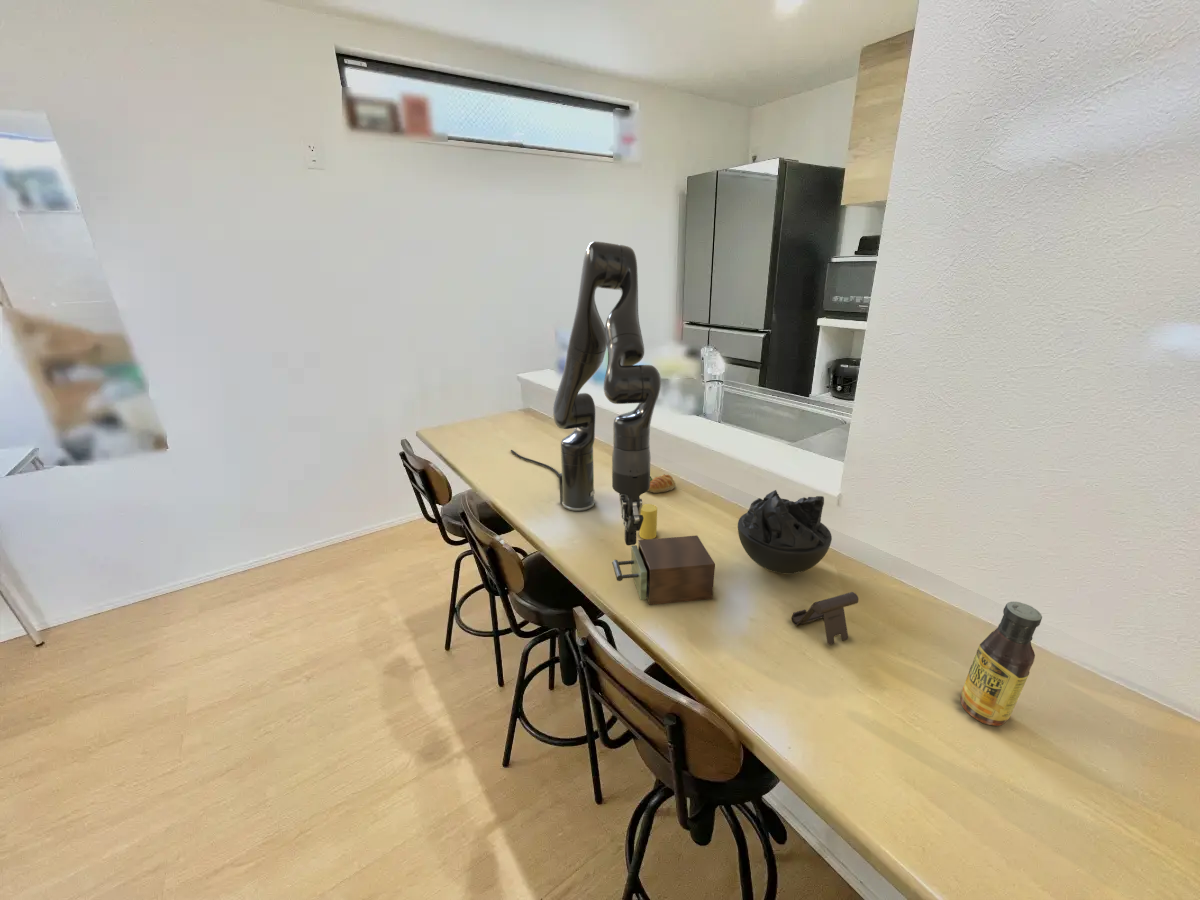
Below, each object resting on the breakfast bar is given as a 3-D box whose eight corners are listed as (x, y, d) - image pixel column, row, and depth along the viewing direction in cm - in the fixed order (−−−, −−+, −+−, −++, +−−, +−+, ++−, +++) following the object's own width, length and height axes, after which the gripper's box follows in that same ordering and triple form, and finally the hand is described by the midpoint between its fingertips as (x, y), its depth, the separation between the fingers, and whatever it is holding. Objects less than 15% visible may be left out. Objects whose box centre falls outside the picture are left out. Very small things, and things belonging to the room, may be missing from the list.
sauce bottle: (949, 696, 80) (981, 594, 73) (985, 693, 80) (1020, 592, 73) (981, 732, 73) (1020, 624, 67) (1020, 729, 74) (1063, 621, 67)
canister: (636, 536, 128) (636, 508, 125) (645, 529, 131) (645, 502, 129) (650, 541, 126) (651, 513, 123) (659, 534, 129) (660, 506, 126)
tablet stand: (826, 611, 100) (832, 576, 97) (857, 636, 93) (865, 599, 90) (790, 621, 97) (796, 585, 94) (820, 648, 90) (827, 610, 87)
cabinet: (649, 605, 102) (650, 569, 99) (637, 572, 113) (638, 540, 110) (712, 598, 104) (715, 564, 101) (695, 567, 114) (697, 535, 111)
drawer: (618, 602, 101) (618, 574, 99) (610, 573, 111) (610, 547, 109) (698, 594, 103) (700, 567, 101) (684, 566, 113) (685, 541, 111)
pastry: (655, 496, 150) (656, 485, 149) (640, 489, 155) (640, 478, 154) (677, 488, 155) (677, 477, 154) (661, 481, 160) (662, 470, 159)
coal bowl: (720, 571, 113) (726, 497, 106) (752, 535, 128) (760, 468, 121) (810, 604, 101) (824, 524, 95) (834, 561, 116) (848, 488, 110)
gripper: (607, 455, 103) (607, 529, 109) (618, 481, 90) (618, 562, 96) (642, 453, 104) (641, 526, 109) (658, 478, 91) (655, 559, 97)
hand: (630, 543), depth 103 cm, fingers closed
